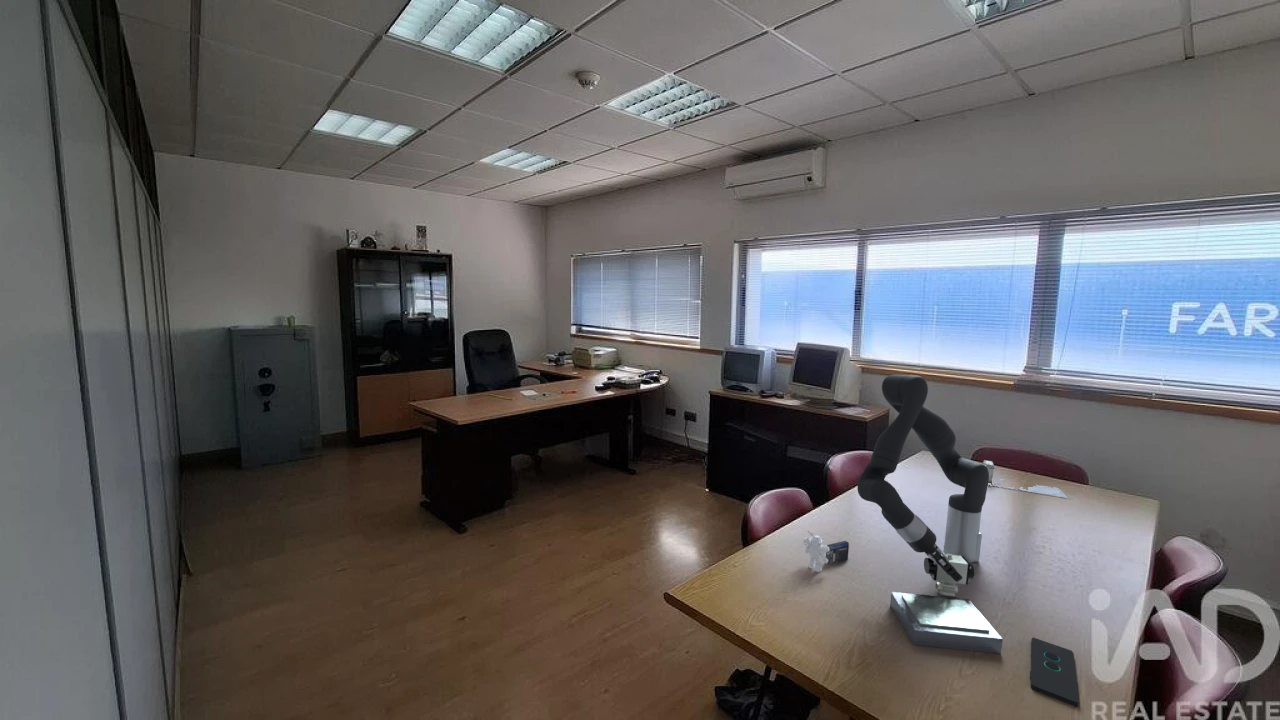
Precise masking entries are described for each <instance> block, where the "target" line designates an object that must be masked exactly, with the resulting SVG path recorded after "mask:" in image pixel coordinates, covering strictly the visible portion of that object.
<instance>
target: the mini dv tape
mask: <svg viewBox="0 0 1280 720" xmlns="http://www.w3.org/2000/svg"><path fill="white" fill-rule="evenodd" d="M826 545H827V544H826ZM849 546H850V544H849V541H847V540H843V541H838V542H834V543H831V544H828V545H827V547H829V548H830V549H829V550H830V551H829V552H830V553H829V552H825V557H826V558H827V559H828V563H826V564H827V565H829V564H830V565H833V564H837V563H841V562H845V561H848V560H849V549H850V548H849ZM827 553H829V554H827ZM836 562H837V563H836Z"/></svg>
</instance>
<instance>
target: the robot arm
mask: <svg viewBox="0 0 1280 720" xmlns="http://www.w3.org/2000/svg"><path fill="white" fill-rule="evenodd" d="M881 391H882V396H883V397H884V399H885V401H886V402H887V403H888V404H889V405H890V406H891V407H892V408H893V409H894V410H895V411H896V412H897V413H898V415H897V416H896V418H895V419H894V420H893V421H892V423H890V424H889V425H888V426H887V428H885V429H884V430H883V432H881V434H880V435H879V437H878V438H877V440H876V443H875V445H874V448H873V451H872V453H871V454H872V455H871V457H870V461H869V463H868V464H867V466H865V469H864V470H863V472H862V473H861V475H860V476H859V479H858V481H857V486H856V487H857V488H856V489H857V493H858V495H859V497H860V498H861V500H862V499H863V500H864V501H866V502H871V503H873V504H876V505H878V507H880V509H881V515H882V516H883V518H884V519H885V520H886V521H887V523H889V525H891V526H892V528H893V529H894V530H895V531H896V533H897V534H898V535H899V536H900V537H901V539H903V540H904V541H905V542H906V544H908V546H909V547H910V548H911V549H912V550H913V551H915V552H916V553H924V554H925V555H926V556H927V558H930V559H932V560H933V561H934V562H935V563H936V564H937V565H938V566H939V567H941V568H942V569H943V570H944V571H945V572H946V573H947V575H950V576H951V577H952V578H953V579H954V580H955V581H956V582H958V581H960V580H961V579H962V576H961V575H960V574H959V573H958V572H957V571H956V569H955V568H954V566H952V565H951V564H950V563H949V559H948V558H947V557H946V556H945V555H944V554H947V553H948V554H951V555H959V556H964V557H965V559H966V560H967V561H968V562H969V563H976V562H977V563H979V561H980V556H981V548H982V547H981V545H982V537H983V534H982V533H981V532H980V529H981V527H980V526H981V519H982V511H983V510H982V509H983V505H984V504H985V501H986V496H987V490H988V487H989V486H988V481H989V472H988V469H987V467H986V466H985V465H984V464H983V463H980V462H977V461H974V460H972V459H968V458H966V457H963V456H961V455H960V454H959V453H958V451H957V450H956V449H955V446H956V441H957V439H956V435H955V432H954V431H953V429H952V427H950V425H949V424H948V422H947V421H946V420H945V419H944V418H943V417H942V416H941V415H939V414H938V413H936V412H934V410H931V409H930V408H928V407H926V406H925V405H924V404H925V403H926V400H927V397H928V393H929V386H928V383H927V381H926V379H925V378H924V377H922V376H920V375H914V374H913V375H912V374H891V375H888V376H886V377H885V378H884V379H883V381H882V383H881ZM911 430H913V431H914V433H915V434H916V435H917V437H918V439H919V440H920V441H921V442H922V444H923V445H924V446H925V447H926V448H927V450H928V451H929V452H930V453H931V455H932V456H933V457H934V458H935V460H936V462H937V463H938V465H939V466H940V468H941V470H942V472H943V473H944V475H945V477H946V478H947V479H948V481H949V482H951V483H953V484H955V485H957V486H959V487H962V488H964V493H962V494H961V493H955V494H951V495H950V496H949V498H948V503H947V517H946V525H945V533H944V545H943V551H942V550H941V548H940V547H939V546H938V545H937V536H936V534H935V533H934V532H933V530H931V528H930V527H928V525H927V524H926V523H925V522H924V521H923V520H922V519H921V518H920V517H919V516H918V515H917V514H916V513H914V512H913V511H912V510H911V508H910V507H908V505H906V504H905V503H904V502H903V499H902V497H901V496H900V494H899V493H898V491H897V489H896V488H895V486H893V485H892V484H891V483H890V482H888V480H885V479H886V477H887V476H888V475H889V474H893V473H895V472H896V469H897V467H898V464H899V462H900V461H899V460H900V457H901V454H902V451H903V448H904V446H905V445H904V444H905V442H906V440H907V438H908V436H909V434H910V432H911ZM940 553H941V554H942V555H941V554H940ZM943 553H944V554H943Z"/></svg>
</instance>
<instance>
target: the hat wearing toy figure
mask: <svg viewBox="0 0 1280 720" xmlns="http://www.w3.org/2000/svg"><path fill="white" fill-rule="evenodd" d="M807 533H808V535H810V536H805V538H803V544H804V546H805V548H806V549H805V553H806V554H809V555H810V561H809V563H808V568H809V569H810V570H814V571H815V572H817V573H820V572H822V571H823V567H822V561H823V562H824V563H825V564H827V563H828V559H827V558H826V554H825V553H826V552H829V551H830V550H829V549H830V548H829V547H827V545H829V544H825V545H824V544H823V539H822V538H821V536H820V535H814V534H815V533H814V532H812V531H810V530H807ZM829 553H830V552H829ZM829 553H827V554H829ZM821 558H822V561H821ZM815 563H816V564H815Z"/></svg>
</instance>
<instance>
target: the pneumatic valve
mask: <svg viewBox="0 0 1280 720" xmlns="http://www.w3.org/2000/svg"><path fill="white" fill-rule="evenodd" d="M942 553H943V554H944V552H942ZM940 554H941V553H940ZM941 555H942V554H941ZM944 555H945V556H946V557H947V558H948V559H949V563H950V564H951V565H952V566H954V568H955V569H956V571H957V572H958V573H959V574H960V575H961V576H962V579H961V580H960V581H958V582H956V581H955V580H954V579H953V578H952V577H951V576H950V575H947V573H946V572H945V571H944V570H943V569H942V568H941V567H939V566H938V565H937V564H936V563H935V562H934V561H933V560H932V559H930V558H929V557H925V558H924V560H923V569H924V572H925V573H926V574H928V575H929V576H930V577H931V578H932V580H933V581H934V582H935V581H936V582H935V584H934V585H935V586H934V587H935V588H934V589H935V590H936V591H937V592H939V595H940V596H943V597H953V598H955V597H956V594H958V592H959V588H958V585H957V584H961V585H967V586H968V585H969V582H970V580H972V579H974V578H975V568H974V565H973V564H972V563H969V562H968V561H967V560H966V559H965V557H964V556H959V555H951V554H948V553H947V554H944Z"/></svg>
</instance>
